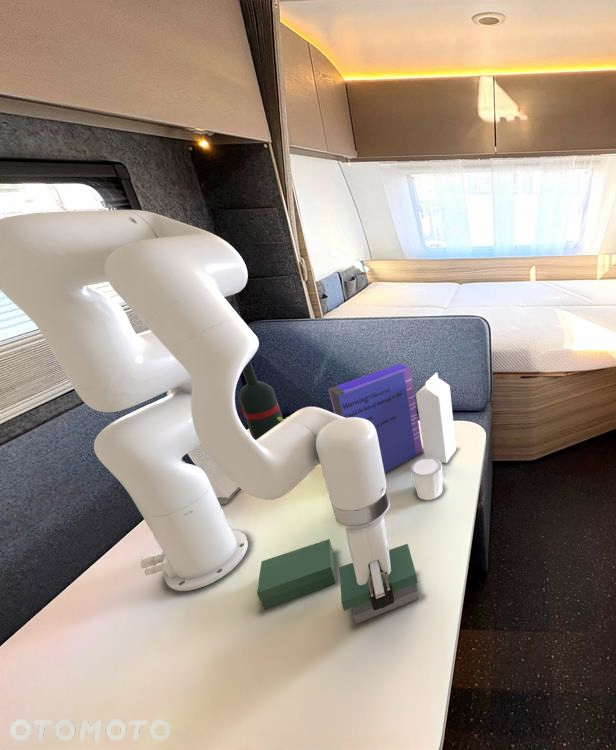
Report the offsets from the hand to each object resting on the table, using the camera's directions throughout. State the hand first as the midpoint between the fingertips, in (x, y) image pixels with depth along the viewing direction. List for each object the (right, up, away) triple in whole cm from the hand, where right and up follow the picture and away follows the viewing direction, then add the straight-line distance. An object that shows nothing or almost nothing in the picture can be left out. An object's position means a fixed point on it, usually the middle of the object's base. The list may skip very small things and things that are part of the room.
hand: (380, 584), depth 62 cm
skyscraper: (-44, +7, +27) cm, 52 cm away
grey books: (+1, -3, +1) cm, 3 cm away
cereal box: (-8, +12, +34) cm, 36 cm away
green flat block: (0, +1, -1) cm, 1 cm away
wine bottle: (-41, +13, +40) cm, 59 cm away
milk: (+4, +13, +37) cm, 39 cm away
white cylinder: (+4, +8, +24) cm, 26 cm away
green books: (-15, -2, +5) cm, 16 cm away
